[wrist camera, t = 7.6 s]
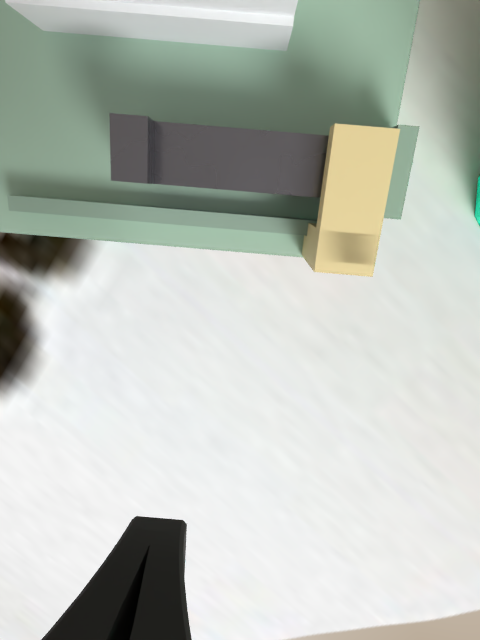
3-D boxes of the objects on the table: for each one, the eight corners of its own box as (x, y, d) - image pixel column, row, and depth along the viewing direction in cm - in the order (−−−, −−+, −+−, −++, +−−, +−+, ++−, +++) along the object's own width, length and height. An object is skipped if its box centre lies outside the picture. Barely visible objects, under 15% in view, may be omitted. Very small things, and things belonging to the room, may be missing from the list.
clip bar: (137, 181, 16) (110, 180, 13) (137, 127, 15) (109, 112, 12) (360, 200, 16) (384, 203, 13) (368, 146, 15) (397, 136, 12)
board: (9, 229, 18) (-65, 243, 14) (-26, -117, 14) (-144, -245, 10) (366, 259, 18) (401, 282, 14) (427, -80, 14) (501, -193, 10)
